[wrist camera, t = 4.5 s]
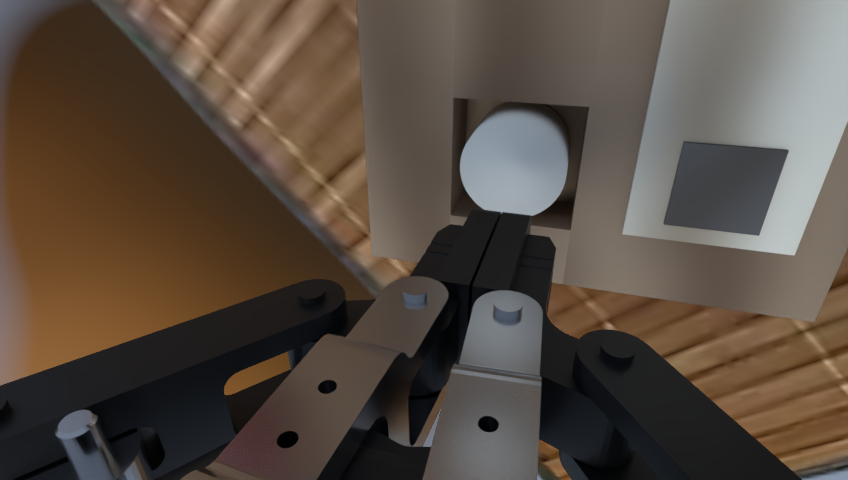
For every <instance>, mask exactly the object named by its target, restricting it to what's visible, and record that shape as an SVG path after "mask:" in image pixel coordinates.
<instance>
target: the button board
mask: <svg viewBox="0 0 848 480" xmlns="http://www.w3.org/2000/svg"><path fill="white" fill-rule="evenodd" d="M356 2H357V19H358V35H359V52H360V69H361V85H362V102H363V118H364V135H365V151H366V168H367V185H368V201H369V218H370V234H371V251H372V256H378V257H385V258H391V259H398V260H405V261H411V262H418V263H419V261H420V259H421V258H422V256H423V254H424V253H425V252H426V250H427V248H428V246H429V245H430V244H431V241H432V240H433V238H434V236H435V235H436V233H437V232H438V231H440V230H441V229H443V228H445V227H446V226H448V225H450V224H454V225H461V226H463V225H464V223H465V221H466V220H467V218H468V216H469V214H470V212H471V210H472V209H482V208H481V207H480V206H478V205H477V204H476V203H475V202H474V201H473V200H472V198H471V197H470V196H469V194H468V193H467V191H466V189H465V187H464V185H463V182H462V179H461V174H460V160H461V155H462V152H463V149H464V147H465V145H466V143H467V141H468V140H469V138H470V137H471V136H472V134H473V133H474V131H475V130H476V128H477V127H478V125H479V124H480V122H481V121H482V120H483V118H484V117H485V116H486V115H487V114H488V113H489V112H490V111H491V110H492V109H494V108H495V107H497V106H498V105H500V104H503V103H505V102H523V103H538V104H544V105H546V106H548V107H549V108H551V109H552V110H553V111H555V112H556V113H557V114H558V115H559V116H560V118H561V119H562V121H563V122H564V124H565V126H566V128H567V130H568V133H569V137H570V155H569V162H568V169H567V176H566V181H565V184H564V187H563V190H562V191H561V193H560V195H559V196H558V198H557V199H556V200H555V202H554V203H553V204H552V205H551V206H549V207H548V208H547V209H545V210H544V211H542V212H540V213H538V214H536V215H533V216H531V231H530V235H538V236H546V237H550V239H551V241H552V242H553V244H554V246H555V247H556V253H555V261H554V269H553V277H552V283H558V284H564V285H571V286H578V287H584V288H591V289H597V290H604V291H611V292H617V293H624V294H631V295H637V296H644V297H651V298H657V299H664V300H671V301H677V302H684V303H691V304H697V305H704V306H710V307H717V308H724V309H730V310H737V311H744V312H750V313H757V314H764V315H770V316H777V317H784V318H790V319H797V320H804V321H810V322H815V320H816V317H817V315H818V313H819V311H820V309H821V306H822V304H823V302H824V300H825V297H826V295H827V293H828V291H829V289H830V286H831V284H832V282H833V280H834V278H835V275H836V273H837V271H838V269H839V266H840V264H841V262H842V260H843V258H844V255H845V253H846V251H847V249H848V0H356ZM482 210H484V209H482Z"/></svg>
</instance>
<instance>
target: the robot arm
mask: <svg viewBox="0 0 848 480" xmlns="http://www.w3.org/2000/svg"><path fill="white" fill-rule="evenodd" d="M530 231H531V215H523V214H515V213H507V212H502V214H501V212H498V211H490V210H482V209H472V210H471V212H470V214H469V216H468V218H467V220H466V221H465V223H464V225H463V226H461V225H454V224H450V225H448V226H446V227H445V228H443V229H441V230H440V231H438V232H437V233H436V235H435V236H434V238H433V240H432V241H431V244H430V245H429V246H428V248H427V250H426V252H425V253H424V254H423V256H422V258H421V259H420V261H419V263H418V264H417V266H416V268H415V269H414V271H413V273H412V274H411V276H410V277H405V278H401V279H398V280H396V281H394V282H392V283H390V284H389V285H388V286H387V287H386V288H385V289H384V290H383V292H382V293H381V294H380V295H379V297H378V298H377V299H374V300H356V301H346V296H345V291H344V289H343V288H342V286H341V285H339V284H338V283H336V282H333V281H330V280H324V279H313V280H306V281H302V282H299V283H297V284H293V285H290V286H287V287H284V288H281V289H279V290H276V291H273V292H270V293H267V294H264V295H261V296H259V297H256V298H253V299H250V300H247V301H244V302H241V303H238V304H235V305H232V306H229V307H227V308H224V309H221V310H218V311H215V312H212V313H210V314H206V315H203V316H201V317H198V318H195V319H192V320H189V321H186V322H183V323H180V324H177V325H175V326H172V327H169V328H166V329H163V330H160V331H157V332H154V333H152V334H148V335H146V336H143V337H140V338H137V339H134V340H131V341H128V342H125V343H122V344H120V345H117V346H114V347H111V348H108V349H105V350H102V351H100V352H96V353H93V354H91V355H88V356H85V357H82V358H79V359H76V360H73V361H70V362H68V363H65V364H62V365H59V366H56V367H53V368H50V369H47V370H44V371H41V372H39V373H36V374H33V375H30V376H27V377H24V378H21V379H18V380H16V381H13V382H10V383H7V384H4V385H1V386H0V480H537V469H538V448H539V439H540V440H542V441H544V442H546V443H548V444H550V445H551V446H553V447H555V448H557V449H559V458H560V461H561V464H562V466H563V467H564V469H565V470H566V472H567V473H568V475H569V476H570V478H571V479H572V480H802V479H801V478H800V477H798V476H797V475H796V474H795V473H794V472H793V471H792V470H790V469H789V468H788V467H787V466H786V465H785V464H784V463H782V462H781V461H780V460H779V459H778V458H777V457H776V456H774V455H773V454H772V453H771V452H770V451H769V450H768V449H766V448H765V447H764V446H763V445H762V444H761V443H759V442H758V441H757V440H756V439H755V438H754V437H753V436H751V435H750V434H749V433H748V432H747V431H746V430H745V429H743V428H742V427H741V426H740V425H739V424H738V423H737V422H735V421H734V420H733V419H732V418H731V417H730V416H729V415H727V414H726V413H725V412H724V411H723V410H722V409H721V408H719V407H718V406H717V405H716V404H715V403H714V402H713V401H711V400H710V399H709V398H708V397H707V396H706V395H705V394H703V393H702V392H701V391H700V390H699V389H698V388H697V387H695V386H694V385H693V384H692V383H691V382H690V381H689V380H687V379H686V378H685V377H684V376H683V375H682V374H681V373H679V372H678V371H677V370H676V369H675V368H674V367H673V366H671V365H670V364H669V363H668V362H667V361H666V360H665V359H663V358H662V357H661V356H660V355H659V354H658V353H657V352H655V351H654V350H653V349H652V348H651V347H650V346H649V345H647V344H646V343H645V342H643V341H642V340H640V339H639V338H637V337H635V336H633V335H630V334H627V333H624V332H620V331H616V330H596V331H592V332H589V333H587V334H585V335H583V336H582V337H581V338H580V339H577V338H574V337H572V336H570V335H568V334H566V333H564V332H562V331H560V330H559V329H558V328H556V327H555V326H554V325H553V324H552V323H551V322H550V320H549V319H548V317H547V311H548V305H549V299H550V292H551V284H552V277H553V269H554V261H555V253H556V247H555V246H554V244H553V242H552V241H551V239H550V237H546V236H538V235H530ZM287 351H288V356H289V362H290V368H291V369H290V370H288V371H286V372H284V373H281V374H279V375H277V376H274V377H272V378H270V379H267V380H265V381H263V382H260V383H258V384H256V385H253V386H251V387H249V388H246V389H244V390H242V391H239V392H237V393H235V394H232V395H224V386H225V384H226V382H227V381H228V379H229V378H230V377H231V376H232V375H233V374H235V373H237V372H239V371H241V370H243V369H246V368H248V367H251V366H253V365H256V364H258V363H260V362H263V361H265V360H268V359H270V358H273V357H275V356H277V355H280V354H282V353H285V352H287ZM447 383H448V384H447ZM440 409H441V411H440ZM439 411H440V415H439V419H438V423H437V427H436V430H435V434H434V438H433V442H432V446H431V447H423V444H424V443H425V440H426V438H427V436H428V434H429V432H430V430H431V428H432V426H433V424H434V421H435V420H436V417H437V415H438V413H439Z"/></svg>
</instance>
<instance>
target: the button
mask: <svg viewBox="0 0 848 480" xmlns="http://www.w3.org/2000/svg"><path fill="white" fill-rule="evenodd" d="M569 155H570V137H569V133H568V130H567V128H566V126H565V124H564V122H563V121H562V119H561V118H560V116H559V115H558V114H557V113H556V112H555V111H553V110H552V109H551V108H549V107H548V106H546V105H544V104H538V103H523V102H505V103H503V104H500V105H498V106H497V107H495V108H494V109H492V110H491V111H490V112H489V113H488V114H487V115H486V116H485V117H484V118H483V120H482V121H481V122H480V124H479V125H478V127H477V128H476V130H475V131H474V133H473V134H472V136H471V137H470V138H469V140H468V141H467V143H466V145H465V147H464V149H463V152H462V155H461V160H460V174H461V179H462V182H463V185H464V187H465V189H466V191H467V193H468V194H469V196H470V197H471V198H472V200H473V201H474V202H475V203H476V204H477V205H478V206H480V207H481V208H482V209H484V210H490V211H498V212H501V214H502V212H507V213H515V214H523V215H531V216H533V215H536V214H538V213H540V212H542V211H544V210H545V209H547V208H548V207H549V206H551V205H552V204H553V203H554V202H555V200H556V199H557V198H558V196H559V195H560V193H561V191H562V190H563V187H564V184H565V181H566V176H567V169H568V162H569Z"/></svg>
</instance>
